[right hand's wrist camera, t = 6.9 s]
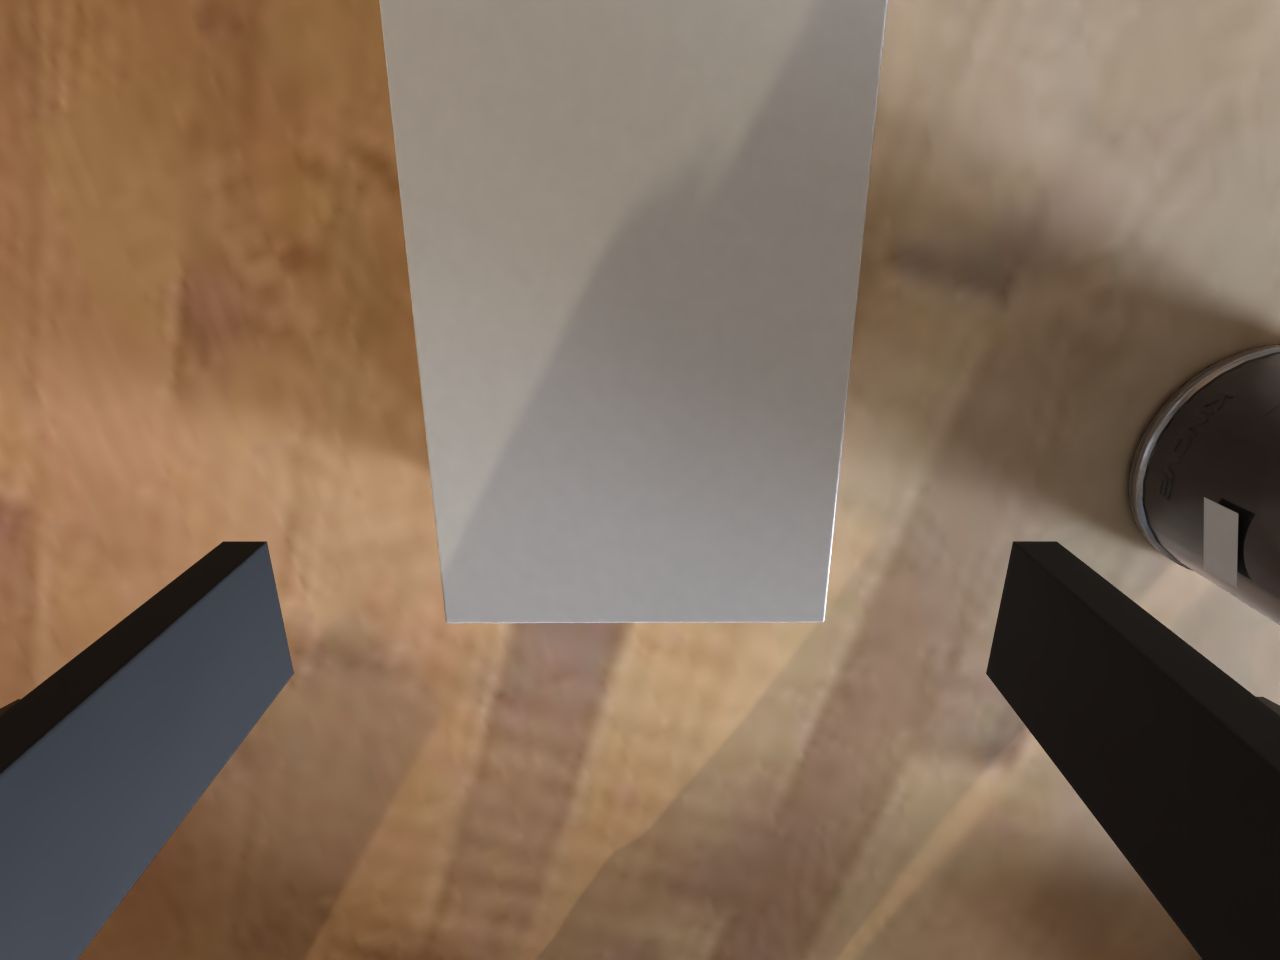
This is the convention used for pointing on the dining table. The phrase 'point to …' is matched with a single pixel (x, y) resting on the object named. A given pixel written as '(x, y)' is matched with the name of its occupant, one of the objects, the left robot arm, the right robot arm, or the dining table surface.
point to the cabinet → (634, 296)
